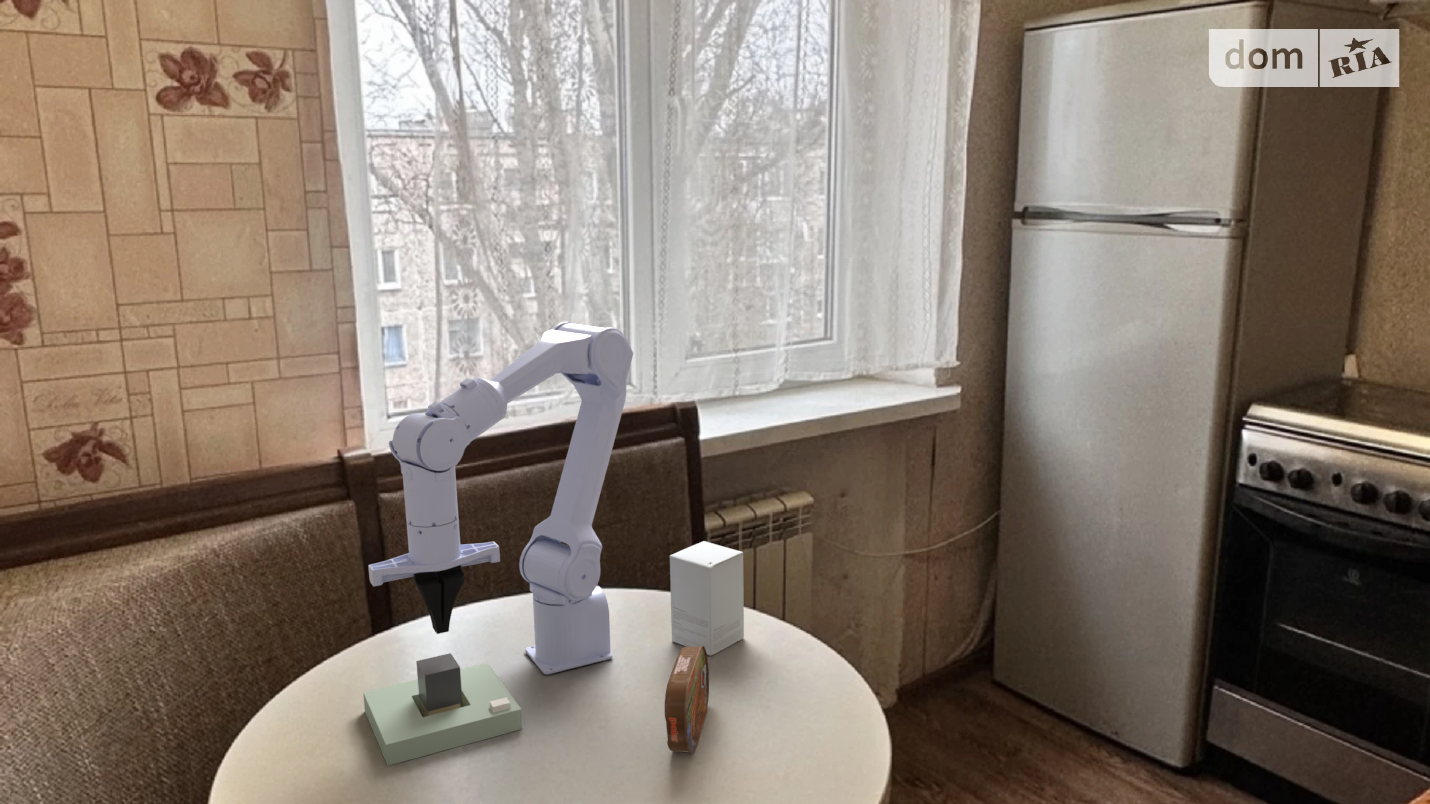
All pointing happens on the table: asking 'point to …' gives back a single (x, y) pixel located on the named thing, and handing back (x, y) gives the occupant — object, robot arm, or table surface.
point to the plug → (439, 684)
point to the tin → (687, 699)
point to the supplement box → (707, 596)
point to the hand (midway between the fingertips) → (440, 629)
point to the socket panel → (440, 716)
